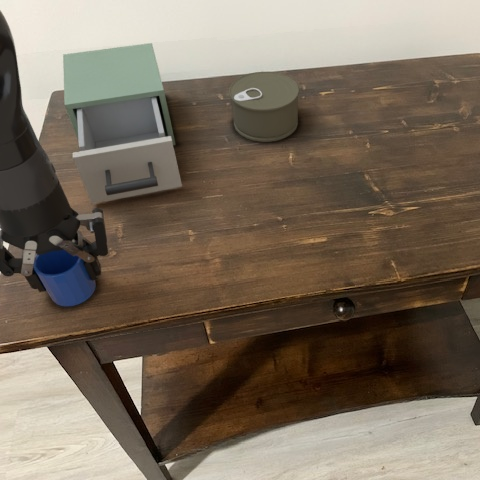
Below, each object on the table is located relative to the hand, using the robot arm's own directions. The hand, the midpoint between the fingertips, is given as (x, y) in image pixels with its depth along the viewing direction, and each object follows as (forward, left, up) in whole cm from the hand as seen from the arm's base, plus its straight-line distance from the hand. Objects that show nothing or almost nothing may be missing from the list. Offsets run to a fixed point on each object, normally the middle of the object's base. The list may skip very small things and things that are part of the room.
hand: (69, 280), depth 69 cm
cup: (0, 0, -2) cm, 2 cm away
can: (+34, +29, -2) cm, 45 cm away
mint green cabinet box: (+10, +35, -2) cm, 36 cm away
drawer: (+10, +20, -1) cm, 22 cm away
